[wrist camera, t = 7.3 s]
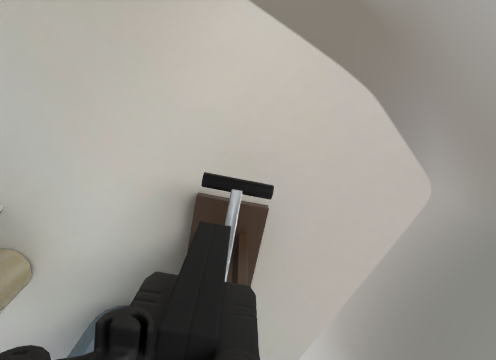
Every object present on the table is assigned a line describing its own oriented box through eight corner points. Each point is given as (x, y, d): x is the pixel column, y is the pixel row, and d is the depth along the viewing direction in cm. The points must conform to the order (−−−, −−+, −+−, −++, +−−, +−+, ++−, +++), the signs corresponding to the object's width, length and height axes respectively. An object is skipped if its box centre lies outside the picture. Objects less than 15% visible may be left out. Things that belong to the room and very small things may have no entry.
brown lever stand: (198, 192, 35) (169, 244, 21) (268, 205, 35) (282, 264, 22) (184, 274, 37) (151, 366, 24) (249, 285, 38) (252, 381, 25)
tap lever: (205, 175, 28) (204, 169, 26) (270, 187, 29) (275, 183, 27) (175, 310, 25) (171, 317, 23) (250, 322, 26) (253, 330, 23)
